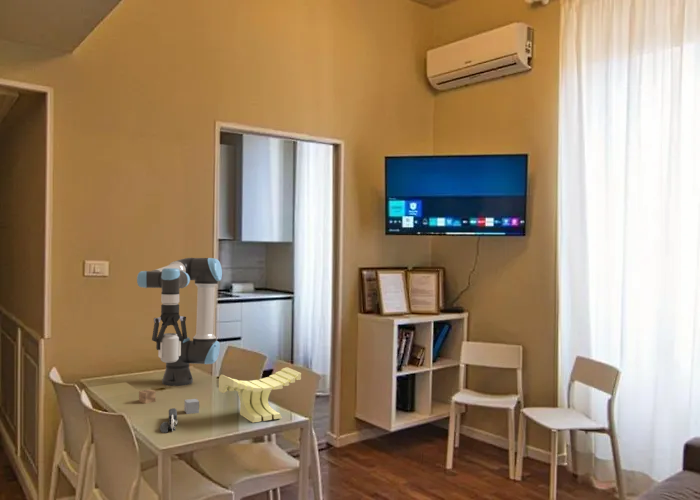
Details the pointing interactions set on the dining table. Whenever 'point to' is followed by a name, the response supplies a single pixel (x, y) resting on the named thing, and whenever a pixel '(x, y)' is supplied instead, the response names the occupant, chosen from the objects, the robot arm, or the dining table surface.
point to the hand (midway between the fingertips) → (169, 356)
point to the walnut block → (147, 396)
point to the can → (170, 348)
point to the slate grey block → (191, 406)
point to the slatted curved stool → (258, 393)
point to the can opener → (170, 421)
